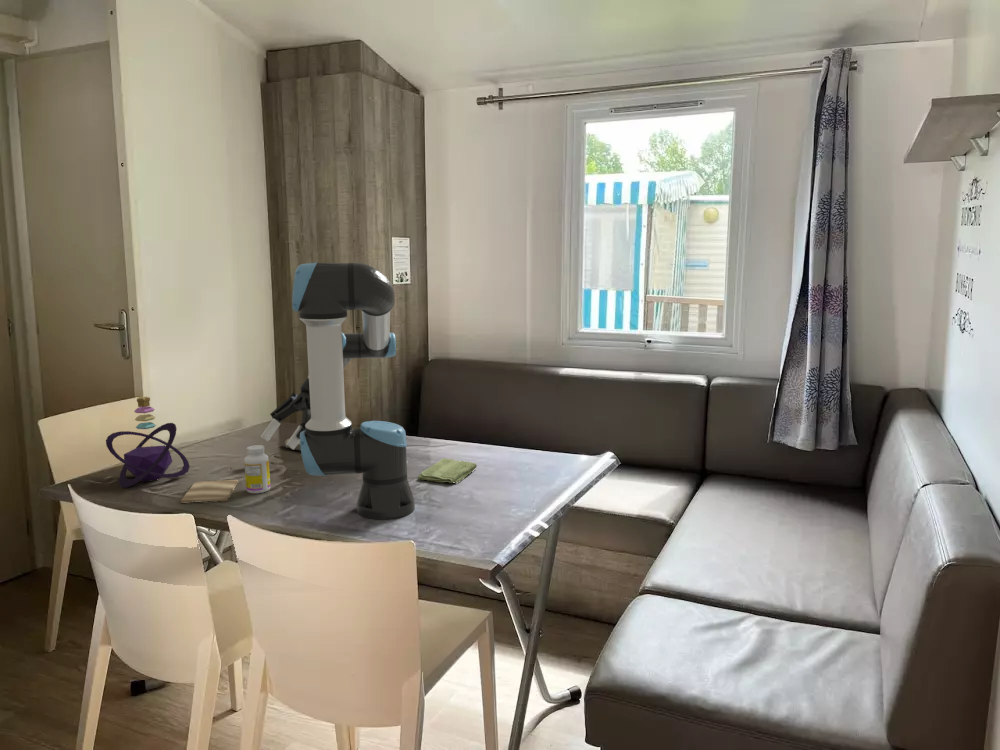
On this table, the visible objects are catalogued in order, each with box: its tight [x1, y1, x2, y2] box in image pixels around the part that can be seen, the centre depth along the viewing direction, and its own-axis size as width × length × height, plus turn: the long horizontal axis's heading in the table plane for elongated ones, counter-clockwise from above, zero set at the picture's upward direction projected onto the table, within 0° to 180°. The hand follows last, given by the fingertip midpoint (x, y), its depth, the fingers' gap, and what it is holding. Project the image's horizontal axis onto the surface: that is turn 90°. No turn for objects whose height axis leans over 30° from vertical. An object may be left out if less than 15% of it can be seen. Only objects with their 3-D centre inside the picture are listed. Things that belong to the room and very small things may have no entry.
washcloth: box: [417, 457, 478, 484], centre depth 224 cm, size 13×18×3 cm
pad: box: [180, 479, 239, 504], centre depth 209 cm, size 16×12×1 cm
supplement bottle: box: [243, 444, 271, 494], centre depth 209 cm, size 7×7×13 cm
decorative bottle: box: [105, 395, 190, 489], centre depth 220 cm, size 22×21×25 cm
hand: (276, 443), depth 215 cm, fingers open, 13 cm apart
